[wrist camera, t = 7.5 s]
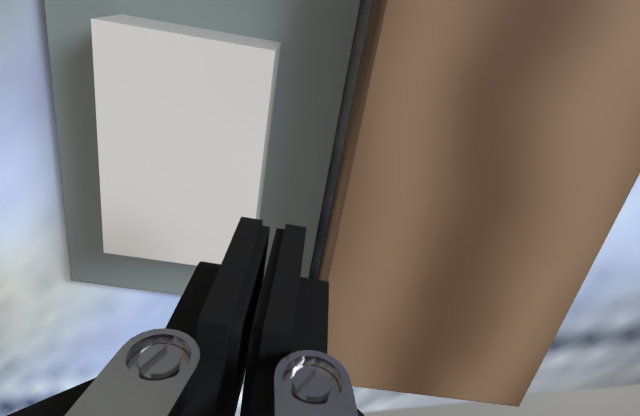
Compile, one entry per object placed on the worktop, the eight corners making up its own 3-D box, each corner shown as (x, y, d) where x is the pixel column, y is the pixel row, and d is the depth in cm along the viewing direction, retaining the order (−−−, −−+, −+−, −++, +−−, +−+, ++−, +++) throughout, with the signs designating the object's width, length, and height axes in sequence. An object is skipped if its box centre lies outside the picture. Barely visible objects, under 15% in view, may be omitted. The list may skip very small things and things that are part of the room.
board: (649, -19, 17) (739, -21, 13) (489, 345, 24) (518, 406, 21) (386, -71, 16) (406, -88, 12) (309, 321, 24) (306, 380, 20)
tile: (90, 18, 14) (121, 14, 17) (103, 252, 18) (127, 223, 21) (275, 50, 15) (281, 42, 17) (249, 272, 19) (256, 242, 21)
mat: (367, -42, 16) (368, -43, 16) (302, 305, 23) (302, 311, 23) (42, -105, 16) (33, -107, 15) (76, 274, 22) (71, 280, 22)
